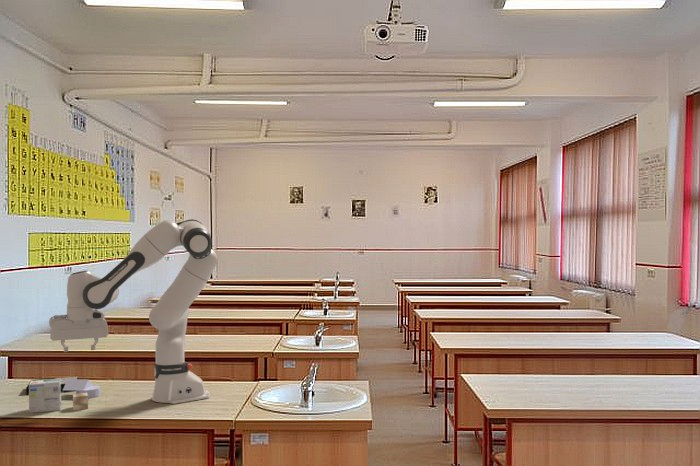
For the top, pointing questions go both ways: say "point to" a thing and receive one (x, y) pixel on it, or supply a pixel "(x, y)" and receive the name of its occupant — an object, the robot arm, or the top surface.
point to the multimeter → (63, 380)
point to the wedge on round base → (83, 387)
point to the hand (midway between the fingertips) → (79, 350)
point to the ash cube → (80, 401)
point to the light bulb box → (44, 395)
